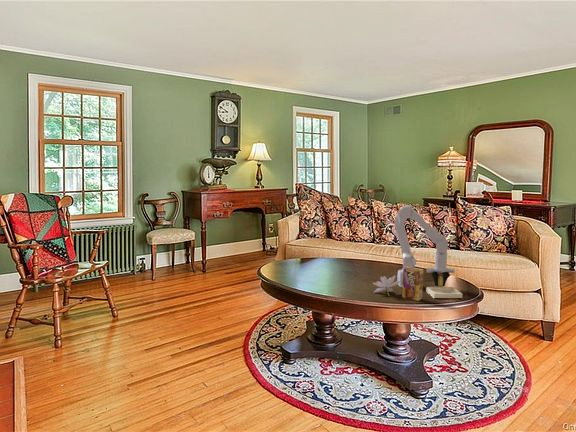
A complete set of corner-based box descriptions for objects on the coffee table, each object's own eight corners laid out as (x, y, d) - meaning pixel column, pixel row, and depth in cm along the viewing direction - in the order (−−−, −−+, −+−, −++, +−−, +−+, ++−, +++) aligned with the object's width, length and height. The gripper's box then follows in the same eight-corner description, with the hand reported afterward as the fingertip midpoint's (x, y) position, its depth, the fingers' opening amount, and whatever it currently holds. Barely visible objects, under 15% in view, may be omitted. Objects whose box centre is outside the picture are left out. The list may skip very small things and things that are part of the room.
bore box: (434, 298, 210) (434, 293, 210) (426, 291, 222) (426, 286, 222) (462, 298, 211) (462, 293, 210) (452, 291, 222) (452, 287, 222)
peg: (437, 289, 226) (438, 278, 225) (435, 287, 229) (436, 276, 228) (443, 289, 226) (444, 278, 225) (441, 287, 229) (441, 276, 228)
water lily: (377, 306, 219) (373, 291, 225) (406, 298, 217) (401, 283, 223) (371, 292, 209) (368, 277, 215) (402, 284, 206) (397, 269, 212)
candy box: (422, 299, 209) (423, 269, 207) (418, 301, 206) (419, 270, 204) (405, 295, 215) (407, 266, 213) (401, 297, 212) (403, 267, 210)
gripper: (430, 262, 222) (428, 287, 223) (457, 262, 222) (456, 287, 223) (425, 259, 229) (424, 283, 230) (452, 259, 229) (450, 284, 230)
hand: (439, 285), depth 227 cm, fingers closed on peg, 3 cm apart
